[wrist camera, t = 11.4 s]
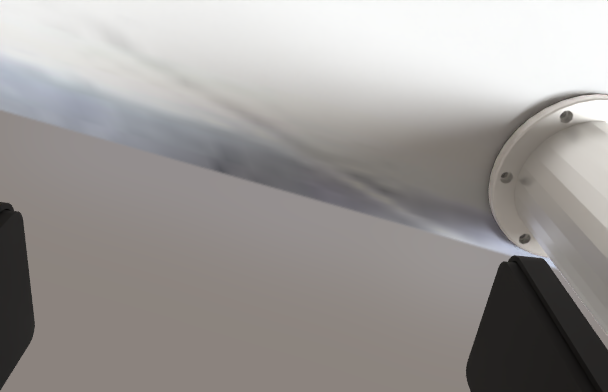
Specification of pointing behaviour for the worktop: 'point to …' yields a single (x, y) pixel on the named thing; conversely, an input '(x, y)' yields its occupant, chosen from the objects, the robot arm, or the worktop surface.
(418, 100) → the worktop surface
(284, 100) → the worktop surface
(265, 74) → the worktop surface
